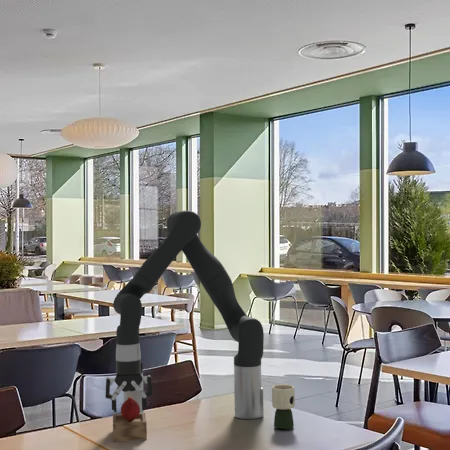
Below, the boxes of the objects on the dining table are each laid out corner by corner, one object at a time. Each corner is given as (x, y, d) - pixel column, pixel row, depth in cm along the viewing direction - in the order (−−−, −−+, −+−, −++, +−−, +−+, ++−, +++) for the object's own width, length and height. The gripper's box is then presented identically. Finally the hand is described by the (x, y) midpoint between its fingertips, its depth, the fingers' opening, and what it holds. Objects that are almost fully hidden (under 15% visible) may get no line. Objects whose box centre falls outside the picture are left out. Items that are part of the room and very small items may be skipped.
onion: (141, 419, 202) (141, 394, 202) (137, 424, 196) (137, 398, 196) (123, 419, 203) (123, 393, 203) (118, 424, 197) (118, 398, 197)
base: (145, 429, 205) (144, 412, 205) (146, 439, 195) (146, 421, 195) (113, 431, 203) (112, 415, 203) (113, 441, 193) (112, 424, 194)
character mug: (293, 434, 198) (292, 391, 198) (270, 433, 199) (269, 390, 199) (296, 423, 208) (295, 383, 208) (274, 422, 210) (273, 382, 210)
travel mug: (134, 427, 207) (133, 365, 207) (120, 424, 211) (119, 363, 211) (148, 423, 212) (147, 361, 212) (134, 419, 216) (133, 359, 216)
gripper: (150, 354, 204) (151, 405, 204) (104, 356, 202) (105, 408, 202) (152, 359, 197) (153, 412, 197) (104, 361, 195) (105, 415, 194)
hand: (129, 410), depth 199 cm, fingers open, 8 cm apart
